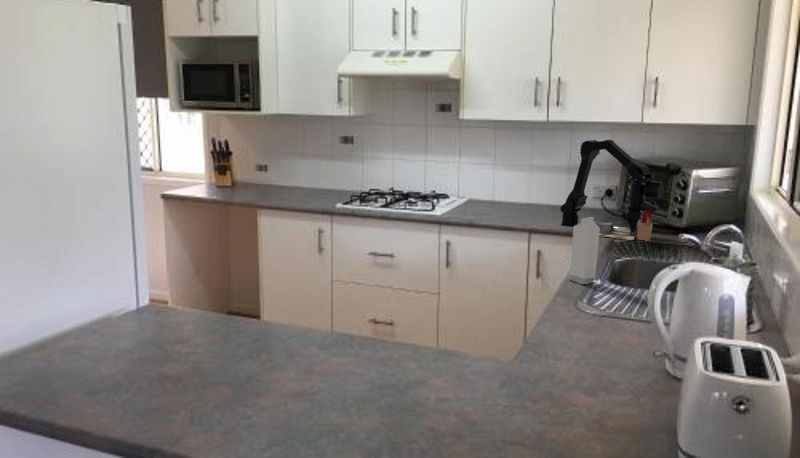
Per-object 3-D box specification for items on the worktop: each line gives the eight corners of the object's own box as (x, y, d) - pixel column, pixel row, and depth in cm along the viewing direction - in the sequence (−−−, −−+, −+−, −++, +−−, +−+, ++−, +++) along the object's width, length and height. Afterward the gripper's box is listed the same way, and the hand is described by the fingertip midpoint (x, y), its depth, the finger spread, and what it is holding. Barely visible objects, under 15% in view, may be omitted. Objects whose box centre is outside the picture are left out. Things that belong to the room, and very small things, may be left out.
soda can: (651, 231, 300) (654, 205, 297) (635, 230, 301) (637, 204, 298) (649, 228, 307) (652, 202, 304) (633, 227, 308) (635, 201, 305)
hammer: (602, 232, 291) (603, 219, 290) (603, 230, 294) (604, 218, 293) (646, 237, 284) (647, 224, 283) (647, 235, 287) (648, 222, 286)
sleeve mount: (577, 234, 292) (578, 223, 291) (582, 229, 302) (583, 218, 301) (633, 241, 283) (634, 229, 282) (636, 235, 292) (637, 224, 291)
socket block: (636, 240, 284) (638, 225, 283) (638, 236, 290) (639, 222, 289) (649, 241, 282) (650, 226, 281) (650, 238, 288) (652, 223, 287)
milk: (594, 282, 226) (601, 218, 221) (582, 285, 223) (589, 220, 217) (580, 278, 231) (586, 214, 226) (568, 280, 227) (574, 216, 222)
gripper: (655, 200, 272) (651, 238, 276) (659, 193, 289) (655, 228, 292) (626, 197, 277) (622, 234, 280) (632, 190, 293) (628, 225, 297)
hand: (633, 231), depth 287 cm, fingers closed on hammer, 3 cm apart
